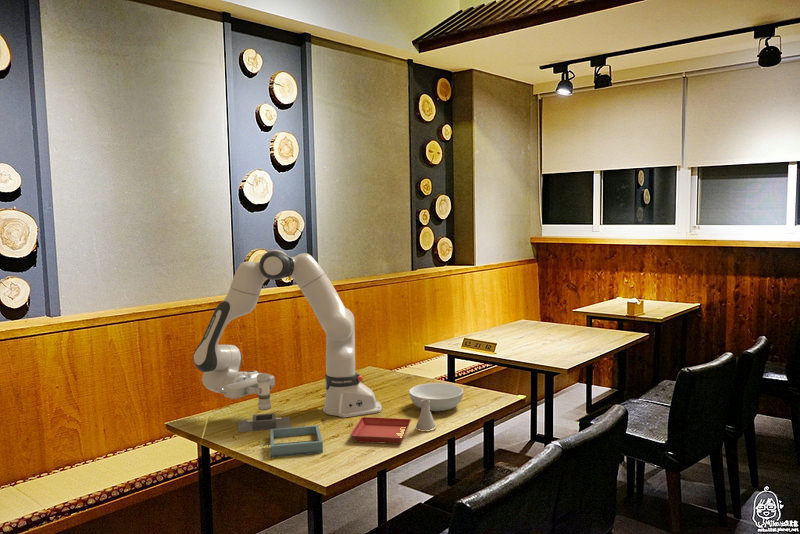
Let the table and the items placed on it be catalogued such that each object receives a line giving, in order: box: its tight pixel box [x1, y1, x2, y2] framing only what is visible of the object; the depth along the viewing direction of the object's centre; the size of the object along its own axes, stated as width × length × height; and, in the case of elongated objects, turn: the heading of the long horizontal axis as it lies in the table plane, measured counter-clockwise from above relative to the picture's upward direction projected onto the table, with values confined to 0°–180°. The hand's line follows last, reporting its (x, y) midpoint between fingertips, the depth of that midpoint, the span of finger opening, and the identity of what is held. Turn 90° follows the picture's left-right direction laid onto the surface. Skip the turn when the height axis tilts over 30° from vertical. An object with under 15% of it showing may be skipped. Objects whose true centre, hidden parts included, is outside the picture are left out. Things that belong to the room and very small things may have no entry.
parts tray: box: [269, 424, 324, 459], centre depth 201 cm, size 16×16×4 cm
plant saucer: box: [349, 416, 412, 444], centre depth 210 cm, size 18×18×3 cm
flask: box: [415, 400, 436, 430], centre depth 215 cm, size 7×7×10 cm
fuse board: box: [237, 412, 292, 433], centre depth 219 cm, size 18×12×4 cm, turn 102°
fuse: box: [257, 372, 272, 411], centre depth 218 cm, size 4×4×12 cm
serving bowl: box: [408, 382, 464, 412], centre depth 239 cm, size 21×21×7 cm
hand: (265, 389), depth 218 cm, fingers closed on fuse, 4 cm apart
